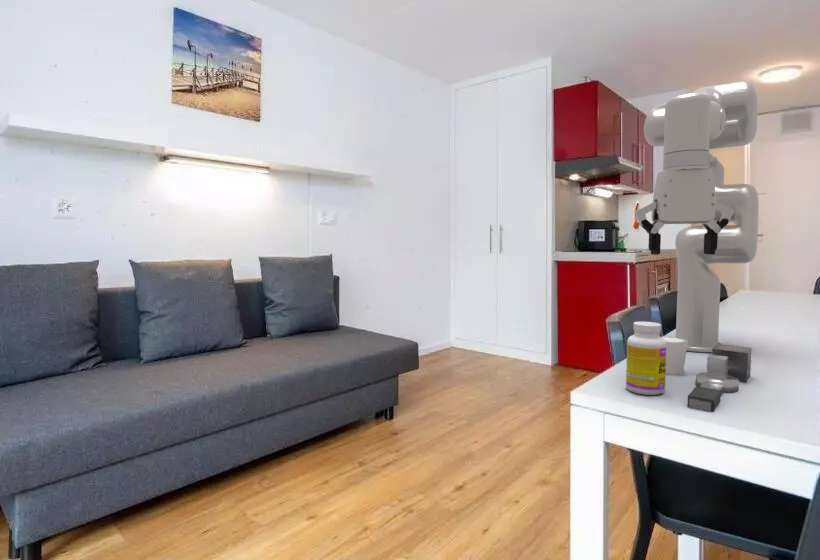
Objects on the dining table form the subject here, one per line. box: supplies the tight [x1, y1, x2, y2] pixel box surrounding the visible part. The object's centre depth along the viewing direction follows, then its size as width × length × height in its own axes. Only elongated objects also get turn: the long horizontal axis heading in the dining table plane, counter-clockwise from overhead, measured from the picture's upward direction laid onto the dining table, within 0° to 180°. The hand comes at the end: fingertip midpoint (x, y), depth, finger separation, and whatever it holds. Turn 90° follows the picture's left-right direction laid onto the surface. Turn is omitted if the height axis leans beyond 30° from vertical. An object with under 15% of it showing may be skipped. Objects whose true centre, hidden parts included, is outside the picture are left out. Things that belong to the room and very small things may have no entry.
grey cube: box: [711, 343, 753, 384], centre depth 100 cm, size 6×6×6 cm
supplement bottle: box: [625, 321, 667, 396], centre depth 91 cm, size 7×7×13 cm
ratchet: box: [686, 354, 740, 413], centre depth 88 cm, size 20×7×6 cm, turn 139°
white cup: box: [661, 336, 688, 376], centre depth 104 cm, size 7×7×7 cm
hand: (681, 254), depth 93 cm, fingers open, 9 cm apart
